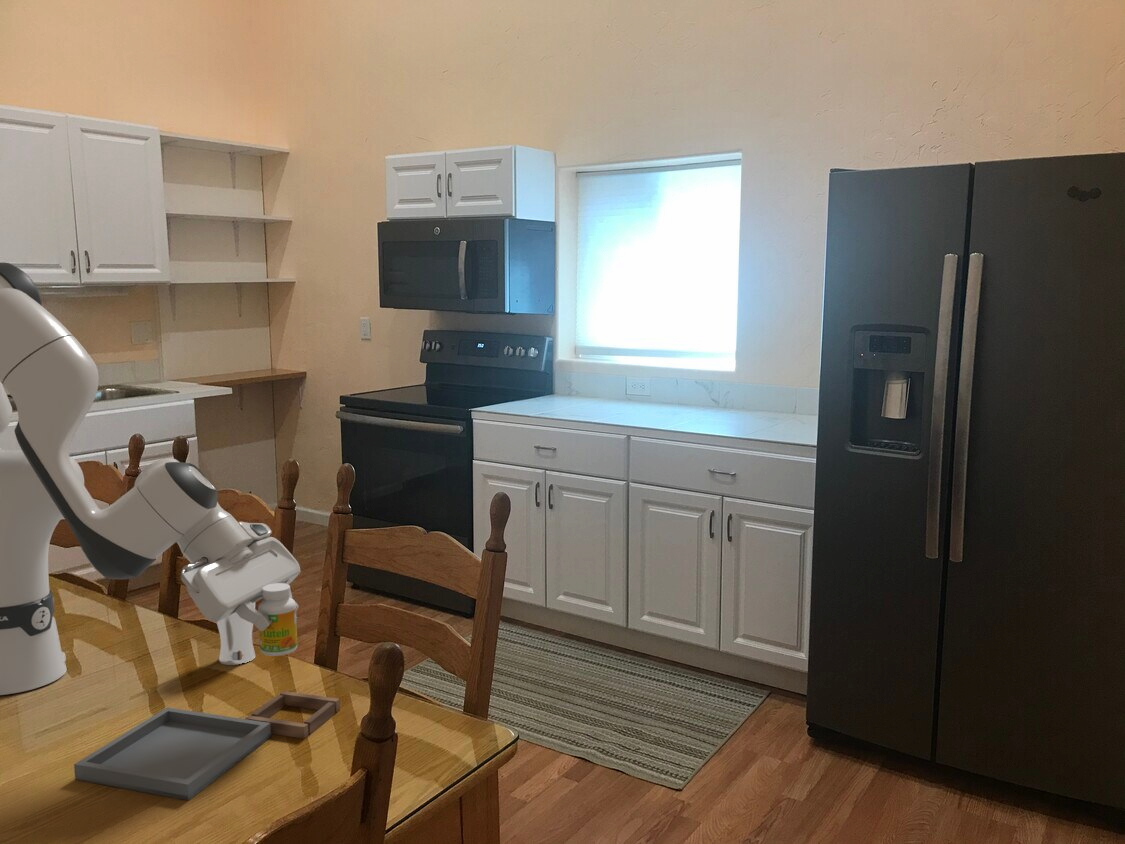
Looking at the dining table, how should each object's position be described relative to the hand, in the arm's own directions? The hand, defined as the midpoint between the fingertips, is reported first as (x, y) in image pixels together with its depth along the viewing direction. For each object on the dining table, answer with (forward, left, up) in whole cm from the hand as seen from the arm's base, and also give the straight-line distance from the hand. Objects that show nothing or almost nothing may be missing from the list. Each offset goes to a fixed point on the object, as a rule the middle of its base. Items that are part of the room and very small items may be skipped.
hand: (281, 619), depth 139 cm
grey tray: (-8, -14, -16) cm, 23 cm away
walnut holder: (+1, +1, -16) cm, 16 cm away
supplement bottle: (-1, 0, -5) cm, 5 cm away
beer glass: (-22, +19, -16) cm, 34 cm away
